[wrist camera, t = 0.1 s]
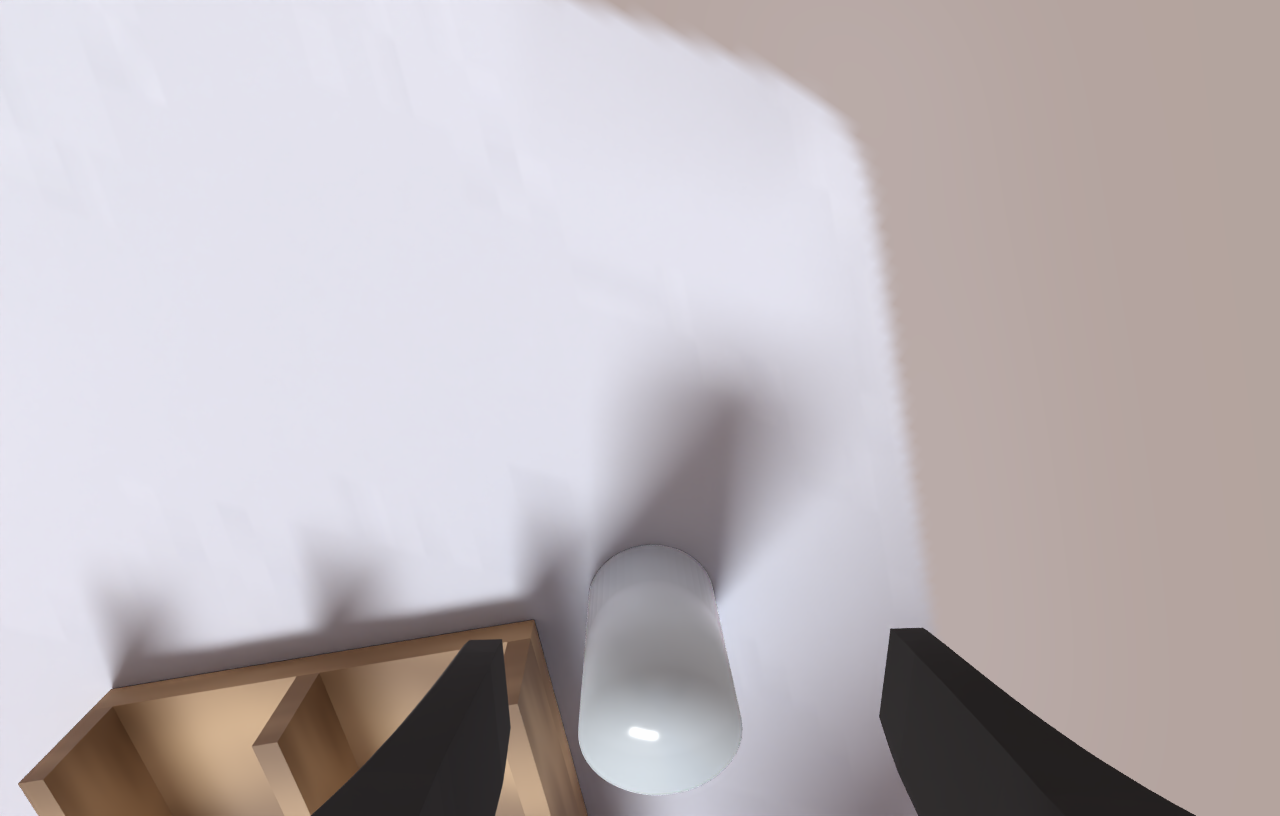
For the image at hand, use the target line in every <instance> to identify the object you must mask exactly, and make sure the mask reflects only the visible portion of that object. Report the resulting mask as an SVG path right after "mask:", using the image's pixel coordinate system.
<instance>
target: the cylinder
mask: <svg viewBox="0 0 1280 816" xmlns="http://www.w3.org/2000/svg"><path fill="white" fill-rule="evenodd" d="M741 738H742V720H741V715H740V711H739V706H738V702H737V697H736V692H735V688H734V683H733V678H732V674H731V669H730V664H729V660H728V655H727V651H726V646H725V641H724V637H723V632H722V627H721V623H720V618H719V614H718V609H717V604H716V600H715V595H714V590H713V586H712V582H711V580H710V578H709V575H708V574H707V572H706V570H705V569H704V568H703V567H702V565H701V564H700V563H699V562H698V561H697V560H695V559H694V558H693V557H691V556H690V555H689V554H687V553H685V552H683V551H681V550H678V549H676V548H672V547H668V546H663V545H642V546H637V547H633V548H630V549H627V550H624V551H622V552H620V553H618V554H616V555H615V556H613V557H612V558H610V559H609V560H608V561H607V562H606V563H604V565H603V566H602V567H601V568H600V569H599V570H598V572H597V573H596V575H595V577H594V579H593V581H592V583H591V587H590V591H589V599H588V612H587V624H586V637H585V650H584V662H583V675H582V688H581V700H580V713H579V726H578V739H579V745H580V748H581V751H582V754H583V756H584V758H585V759H586V761H587V763H588V764H589V765H590V767H591V768H592V769H593V770H594V771H595V772H596V773H597V774H598V775H599V776H600V777H602V778H603V779H604V780H606V781H607V782H609V783H611V784H612V785H614V786H616V787H619V788H621V789H623V790H626V791H630V792H633V793H638V794H644V795H671V794H677V793H682V792H686V791H689V790H692V789H695V788H697V787H699V786H702V785H703V784H705V783H707V782H709V781H711V780H712V779H713V778H715V777H716V776H717V775H719V774H720V773H721V772H722V771H723V770H724V769H725V768H726V767H727V766H728V765H729V763H730V762H731V761H732V759H733V758H734V756H735V754H736V752H737V750H738V748H739V745H740V741H741Z"/></svg>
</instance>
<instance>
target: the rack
mask: <svg viewBox="0 0 1280 816" xmlns="http://www.w3.org/2000/svg"><path fill="white" fill-rule="evenodd" d="M488 639H502V642H503V653H504V663H505V673H506V684H507V694H508V704H509V715H510V725H511V729H510V737H509V744H508V752H507V759H506V766H505V773H504V780H503V786H502V790H501V794H500V798H499V802H498V806H497V810H496V814H495V816H588V815H587V811H586V807H585V804H584V800H583V796H582V793H581V789H580V785H579V782H578V778H577V774H576V771H575V767H574V764H573V760H572V756H571V753H570V749H569V745H568V742H567V738H566V734H565V731H564V727H563V723H562V720H561V716H560V712H559V709H558V705H557V701H556V698H555V694H554V690H553V687H552V683H551V679H550V676H549V672H548V668H547V665H546V661H545V658H544V654H543V650H542V647H541V643H540V639H539V636H538V632H537V628H536V625H535V621H534V620H529V621H523V622H517V623H511V624H505V625H499V626H493V627H487V628H481V629H474V630H468V631H462V632H456V633H450V634H444V635H438V636H432V637H426V638H420V639H414V640H408V641H401V642H395V643H389V644H383V645H377V646H371V647H365V648H359V649H353V650H347V651H341V652H335V653H328V654H322V655H316V656H310V657H304V658H298V659H292V660H286V661H280V662H274V663H268V664H262V665H255V666H249V667H243V668H237V669H231V670H225V671H219V672H213V673H207V674H201V675H195V676H189V677H182V678H176V679H170V680H164V681H158V682H152V683H146V684H140V685H134V686H128V687H122V688H116V689H111V690H110V691H109V692H108V693H107V694H106V695H105V696H104V697H103V698H102V699H101V700H100V701H99V702H98V703H97V704H96V705H95V706H94V707H93V708H92V709H91V710H90V711H89V712H88V713H87V714H86V715H85V716H84V717H83V718H82V719H81V720H80V721H79V722H78V723H77V724H76V725H75V726H74V727H73V728H72V729H71V730H70V731H69V733H68V734H67V735H66V736H65V737H64V738H63V739H62V740H61V741H60V742H59V743H58V744H57V745H56V746H55V747H54V748H53V749H52V750H51V751H50V752H49V753H48V754H47V755H46V756H45V757H44V758H43V759H42V760H41V761H40V762H39V763H38V764H37V765H36V766H35V767H34V768H33V769H32V770H31V771H30V772H29V773H28V774H27V775H26V776H25V777H24V778H23V779H22V780H21V781H20V782H19V783H18V785H19V786H20V788H21V789H22V791H23V792H24V794H25V796H26V797H27V799H28V800H29V802H30V803H31V805H32V806H33V808H34V810H35V811H36V813H37V814H38V816H311V815H312V814H313V813H314V812H315V811H316V810H317V809H318V808H320V807H321V806H322V805H323V804H324V803H325V802H326V801H327V800H328V799H329V798H330V797H331V796H332V795H334V794H335V793H336V792H337V791H338V790H339V789H340V788H341V787H342V786H343V785H344V784H345V783H346V782H347V781H348V780H349V779H350V778H351V777H352V776H353V775H354V774H355V773H356V772H357V771H358V770H359V769H360V768H361V767H362V766H363V765H364V764H365V763H366V762H367V761H368V760H369V759H370V758H371V756H372V755H373V754H374V753H375V752H376V751H377V750H378V749H379V748H380V747H381V746H382V745H383V743H384V742H385V741H386V740H387V739H388V738H389V737H390V736H391V735H392V734H393V733H394V732H395V730H396V729H397V728H398V727H399V726H400V725H401V724H402V722H403V721H404V720H405V719H406V718H407V716H408V715H409V714H410V713H411V712H412V710H413V709H414V708H415V707H416V706H417V704H418V703H419V702H420V701H421V700H422V698H423V697H424V696H425V695H426V694H427V692H428V691H429V690H430V689H431V687H432V686H433V685H434V684H435V682H436V681H437V680H438V678H439V677H440V676H441V675H442V673H443V672H444V671H445V669H446V668H447V667H448V665H449V664H450V663H451V661H452V660H453V659H454V657H455V656H456V655H457V653H458V652H459V651H460V649H461V648H462V647H463V645H464V644H466V643H467V642H468V641H469V640H488Z"/></svg>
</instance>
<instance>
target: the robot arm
mask: <svg viewBox="0 0 1280 816" xmlns="http://www.w3.org/2000/svg"><path fill="white" fill-rule="evenodd" d="M879 717H880V720H881V724H882V727H883V730H884V733H885V736H886V739H887V742H888V745H889V748H890V751H891V754H892V757H893V759H894V762H895V765H896V768H897V771H898V773H899V775H900V777H901V780H902V782H903V784H904V786H905V788H906V790H907V792H908V795H909V797H910V799H911V801H912V803H913V805H914V807H915V809H916V812H917V814H918V816H1196V815H1194V814H1192V813H1190V812H1188V811H1186V810H1184V809H1183V808H1181V807H1179V806H1177V805H1175V804H1173V803H1171V802H1170V801H1168V800H1166V799H1164V798H1163V797H1161V796H1159V795H1158V794H1156V793H1154V792H1152V791H1151V790H1149V789H1147V788H1145V787H1144V786H1142V785H1141V784H1139V783H1137V782H1136V781H1134V780H1132V779H1131V778H1129V777H1128V776H1126V775H1124V774H1123V773H1121V772H1119V771H1118V770H1116V769H1115V768H1113V767H1111V766H1110V765H1108V764H1106V763H1105V762H1103V761H1102V760H1100V759H1099V758H1097V757H1095V756H1094V755H1092V754H1091V753H1089V752H1088V751H1086V750H1085V749H1083V748H1082V747H1080V746H1079V745H1077V744H1076V743H1075V742H1073V741H1072V740H1070V739H1069V738H1067V737H1066V736H1064V735H1063V734H1062V733H1060V732H1059V731H1057V730H1056V729H1054V728H1053V727H1051V726H1050V725H1049V724H1047V723H1046V722H1044V721H1043V720H1042V719H1040V718H1039V717H1038V716H1036V715H1035V714H1033V713H1032V712H1031V711H1029V710H1028V709H1027V708H1025V707H1024V706H1023V705H1021V704H1020V703H1019V702H1017V701H1016V700H1015V699H1013V698H1012V697H1011V696H1009V695H1008V694H1007V693H1006V692H1004V691H1003V690H1002V689H1000V688H999V687H998V686H997V685H995V684H994V683H993V682H991V681H990V680H989V679H988V678H986V677H985V676H984V675H982V674H981V673H980V672H979V671H978V670H976V669H975V668H974V667H973V666H971V665H970V664H969V663H968V662H966V661H965V660H964V659H962V658H961V657H960V656H959V655H958V654H956V653H955V652H954V651H952V650H951V649H950V648H949V647H947V646H946V645H945V644H944V643H942V642H941V641H940V640H939V639H937V638H936V637H935V636H933V635H932V634H931V633H929V632H928V631H927V630H925V629H924V628H902V629H890V637H889V645H888V653H887V660H886V668H885V676H884V684H883V692H882V699H881V707H880V715H879ZM510 729H511V725H510V715H509V704H508V694H507V684H506V673H505V663H504V653H503V642H502V639H488V640H469V641H468V642H467V643H466V644H464V645H463V647H462V648H461V649H460V651H459V652H458V653H457V655H456V656H455V657H454V659H453V660H452V661H451V663H450V664H449V665H448V667H447V668H446V669H445V671H444V672H443V673H442V675H441V676H440V677H439V678H438V680H437V681H436V682H435V684H434V685H433V686H432V687H431V689H430V690H429V691H428V692H427V694H426V695H425V696H424V697H423V698H422V700H421V701H420V702H419V703H418V704H417V706H416V707H415V708H414V709H413V710H412V712H411V713H410V714H409V715H408V716H407V718H406V719H405V720H404V721H403V722H402V724H401V725H400V726H399V727H398V728H397V729H396V730H395V732H394V733H393V734H392V735H391V736H390V737H389V738H388V739H387V740H386V741H385V742H384V743H383V745H382V746H381V747H380V748H379V749H378V750H377V751H376V752H375V753H374V754H373V755H372V756H371V758H370V759H369V760H368V761H367V762H366V763H365V764H364V765H363V766H362V767H361V768H360V769H359V770H358V771H357V772H356V773H355V774H354V775H353V776H352V777H351V778H350V779H349V780H348V781H347V782H346V783H345V784H344V785H343V786H342V787H341V788H340V789H339V790H338V791H337V792H336V793H335V794H334V795H332V796H331V797H330V798H329V799H328V800H327V801H326V802H325V803H324V804H323V805H322V806H321V807H320V808H318V809H317V810H316V811H315V812H314V813H313V814H312V815H311V816H495V814H496V810H497V806H498V802H499V798H500V794H501V790H502V786H503V780H504V773H505V766H506V759H507V752H508V744H509V737H510Z"/></svg>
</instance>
